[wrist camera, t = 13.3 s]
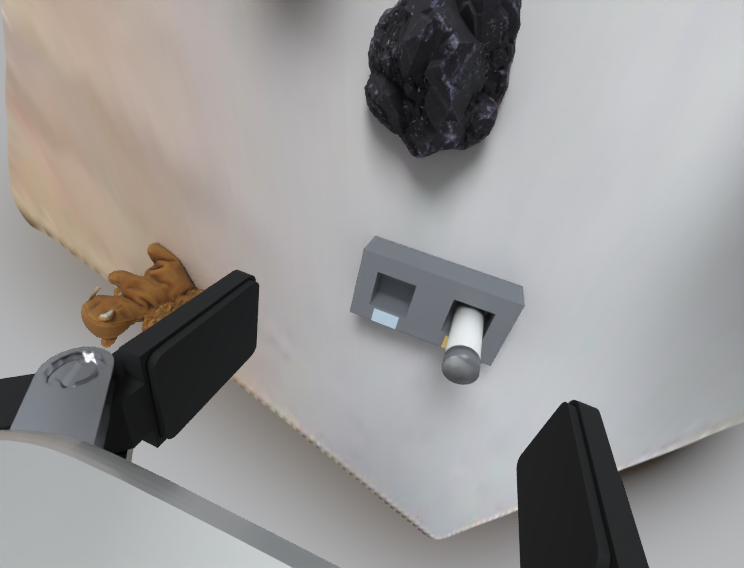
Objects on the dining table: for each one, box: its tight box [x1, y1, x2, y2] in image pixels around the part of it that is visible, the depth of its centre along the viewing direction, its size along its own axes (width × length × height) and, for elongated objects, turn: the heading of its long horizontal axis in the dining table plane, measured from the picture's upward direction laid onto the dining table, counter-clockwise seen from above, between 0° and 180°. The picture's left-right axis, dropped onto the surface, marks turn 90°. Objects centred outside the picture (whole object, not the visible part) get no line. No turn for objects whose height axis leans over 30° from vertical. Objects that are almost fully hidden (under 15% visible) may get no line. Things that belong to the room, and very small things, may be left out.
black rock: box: [365, 0, 521, 158], centre depth 27 cm, size 13×14×10 cm
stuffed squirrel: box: [81, 243, 204, 348], centre depth 49 cm, size 10×14×13 cm
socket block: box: [350, 236, 525, 366], centre depth 39 cm, size 17×8×4 cm, turn 76°
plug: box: [442, 301, 485, 385], centre depth 35 cm, size 3×3×11 cm
